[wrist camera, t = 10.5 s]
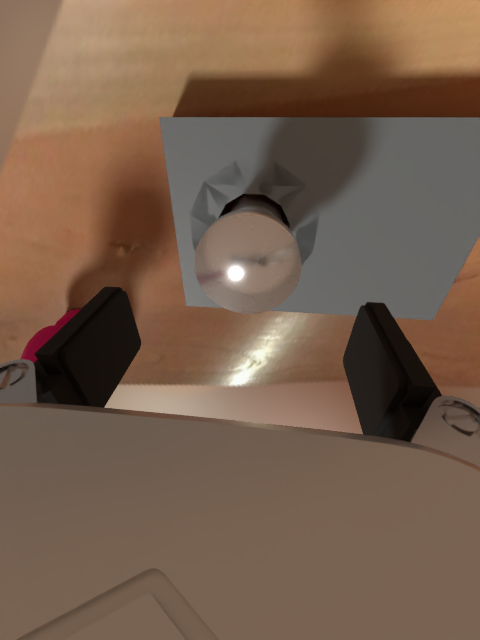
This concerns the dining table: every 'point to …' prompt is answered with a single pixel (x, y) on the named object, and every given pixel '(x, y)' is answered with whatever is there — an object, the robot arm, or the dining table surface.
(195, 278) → the plate
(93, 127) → the dining table surface
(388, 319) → the robot arm
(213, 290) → the grey cylindrical piece
